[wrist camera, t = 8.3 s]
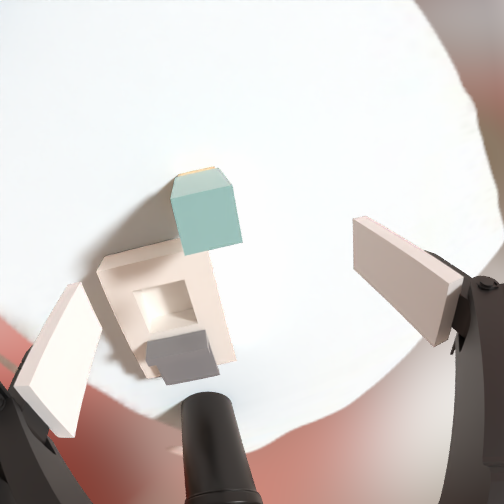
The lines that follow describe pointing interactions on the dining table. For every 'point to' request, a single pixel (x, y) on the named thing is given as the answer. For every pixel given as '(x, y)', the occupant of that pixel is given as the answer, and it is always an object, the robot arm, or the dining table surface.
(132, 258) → the socket block
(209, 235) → the teal block
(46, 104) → the dining table surface
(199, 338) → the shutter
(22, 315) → the dining table surface
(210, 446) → the water bottle
